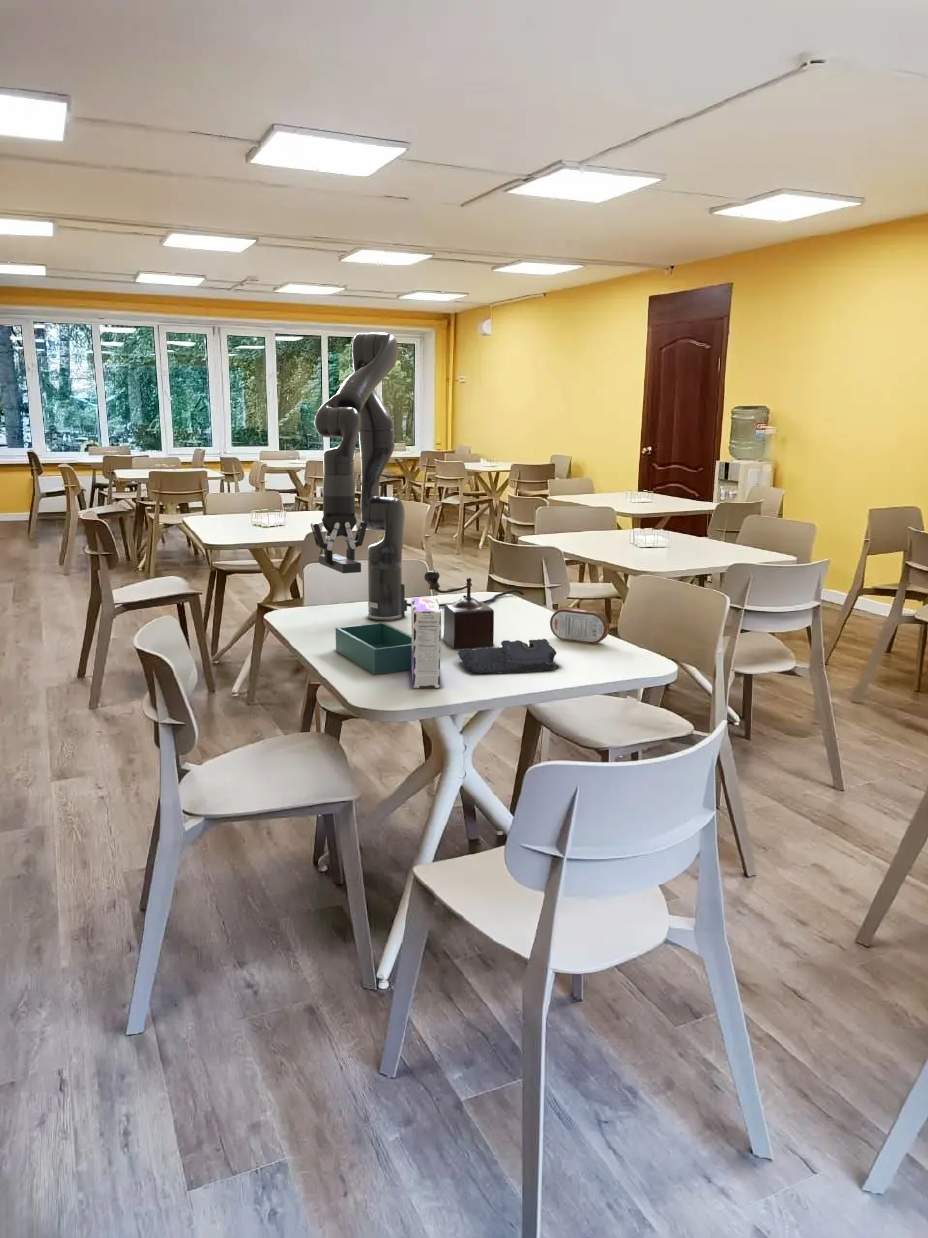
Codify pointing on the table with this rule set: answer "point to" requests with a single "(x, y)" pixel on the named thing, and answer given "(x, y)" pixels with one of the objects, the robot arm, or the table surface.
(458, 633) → the manual coffee grinder
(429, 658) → the candy box
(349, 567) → the remote
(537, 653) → the dark slate chunk
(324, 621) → the table surface
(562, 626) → the tin
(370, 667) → the bin
